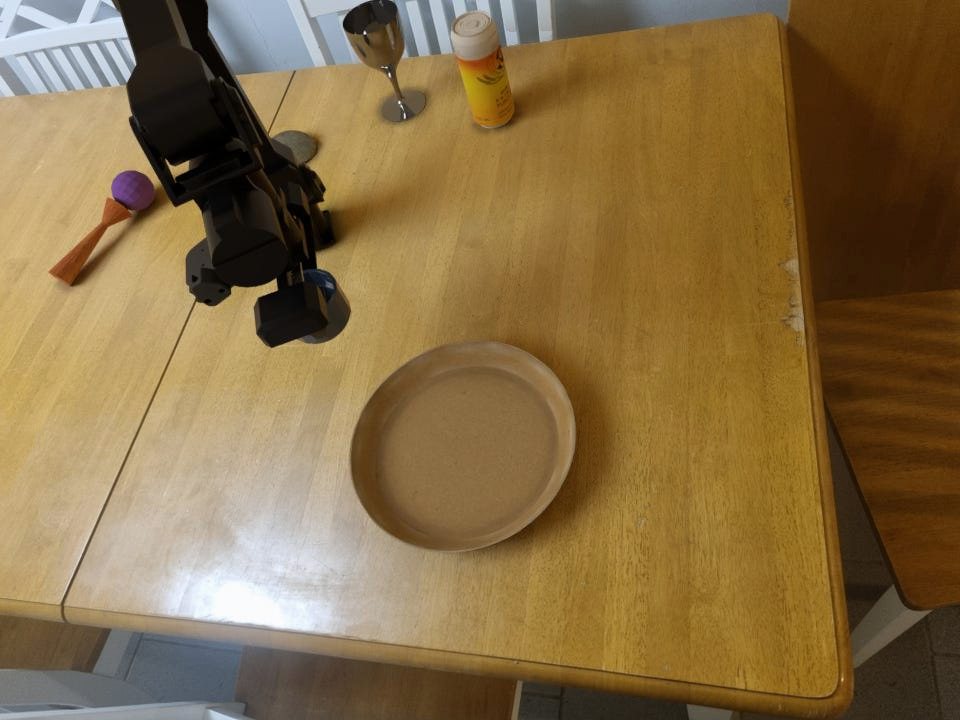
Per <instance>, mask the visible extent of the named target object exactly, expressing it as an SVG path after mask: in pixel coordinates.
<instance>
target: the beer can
mask: <svg viewBox="0 0 960 720" xmlns="http://www.w3.org/2000/svg"><path fill="white" fill-rule="evenodd" d="M450 27H451V30H450V41H451V44H452V47H453V50H454V55H455V58H456V61H457V65H458V68H459V71H460V75H461V79H462V82H463V86H464V90H465V93H466V96H467V100H468V103H469V104H468V105H469V107H470V111H471V114H472V118H473V121H474V122H475V123H476V124H478V125H479V126H481V127H483V128H485V129H497V128H501V127H503V126H505V125H506V124H507V123H508V122H509V121H510V120H511V119H512V116H513V115H514V114H515V109H516V108H515V102H514V98H513V94H512V90H511V84H510V80H509V76H508V71H507V68H506V64H505V62H506V61H505V58H504V53H503V50H502V45H501V40H500V37H499V32H498V26H497V23H496V21H495V20H494V19H493V18H492V15H491V14H490V13H489V12H488V11H485V10H479V9H475V10H469V11H467V12H464V13H462V14H460V15H458V16H457V17H456V18H455V19H454V20H453V22H452V23H451V26H450Z"/></svg>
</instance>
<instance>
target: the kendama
mask: <svg viewBox="0 0 960 720" xmlns="http://www.w3.org/2000/svg"><path fill="white" fill-rule="evenodd" d="M110 191H111V195H112V198H111V197H109V196H107V197H106V198H105V204H104V209H103V211H102V217H101V222H100V223H99V224H97V226H96V227H94V228H93V229H92V230H91V231H90V232H89V233H88V234H87V235H85V237H84V238H82V239H81V240H80V242H78V243H77V244H76V245H75V246H74V247H73V248H72V249H71V250H70V251H68V253H66V254H65V255H64V256H63V257H62V258H61V259H60V260H59V261H57V263H56V264H54V266H52V267H51V268H50V269H49V270H48V271H47V273H48V274H50V275H51V276H52V277H54V278H55V279H56V280H58V281H59V282H61V283H63V284H64V285H67V286H68V287H71V285H72V284H73V282H74V280H75V279H76V278H77V276H78V274H79V273H80V271H81V270H82V268H83V267H84V265H85V264H86V262H87V260H88V259H89V257H90V256H91V254H93V251H94V250H95V248H96V246H97V245H98V243H99V242H100V240H101V239H102V238H103V236H104V234H105V233H106V232H107V229H108V228H109V227H113V226H114V225H117V224H118V223H120V222H123V221H125V220H127V219H130V218H132V217H133V214H132V212H135V211H143V210H144V209H147V208H149V207H150V206H151V204H152V203H154V198H155V195H156V191H155V185H154V183H153V182H152V180H151V179H150V177H149V176H147V174H146V173H143V172H140V171H138V170H123V171H122V172H119V173H117V174H116V175H115V177H114V178H113V179H112V181H111V185H110Z"/></svg>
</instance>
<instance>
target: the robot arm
mask: <svg viewBox="0 0 960 720" xmlns="http://www.w3.org/2000/svg"><path fill="white" fill-rule="evenodd" d="M110 1H111V3H112V4H113V6H114V8H115V9H116V12H118V13H120V17H121V20H122V23H123V27H124V29H125V32H126V35H127V38H128V41H129V44H130V45H129V46H130V47H131V50H132V54H133V57H134V62H135V66H134V68H133V70H132V72H131V74H130V76H129V78H128V79H127V82H126V85H125V89H126V94H127V99H128V104H129V110H130V114H131V115H129V116H128V123H129V126H130V129H131V131H132V134H133V135H134V137H135V139H136V141H137V143H138V145H139V146H140V148H141V150H142V152H143V153H144V156H145V157H146V159H147V162H148V163H149V164H150V166H151V168H152V170H153V172H154V173H155V175H156V177H157V179H158V181H159V182H160V184H161V186H162V188H163V190H164V191H165V194H166V195H167V198H168V199H169V201H170V202H171V204H172V206H173V208H178V207H180V206H182V205H185V204H187V203H189V202H191V201H194V203H195V204H196V206H197V207H198V209H199V210H200V212H201V218H202V222H203V223H202V224H203V228H204V232H205V237H204V238H202V239H201V240H200V241H199V242H197V244H195V245H194V246H193V247H191V249H190V250H189V251H188V252H187V254H186V256H185V259H184V260H185V261H184V263H185V265H184V266H185V267H184V268H185V284H186V286H187V287H188V293H190V294H191V295H193V296H194V297H195V302H196V303H198V304H203V305H205V306H207V307H217V306H218V305H220V304H221V303H222V302H224V301H225V300H226V299H227V298H230V296H232V289H233V287H237V288H246V289H249V288H257V287H261V286H264V285H268V284H270V283H271V282H273V281H274V280H276V281H275V282H276V287H277V290H275V291H272V292H269V293H267V294H263V295H260V296H258V297H257V298H256V301H255V302H254V305H253V313H254V323H255V324H254V325H255V335H256V336H257V337H258V338H259V339H260V341H261V342H262V343H263V344H264V346H266V347H268V348H270V349H274V348H276V347H280V346H282V345H284V344H288V343H290V342H293V341H296V340H297V339H299V338H302V337H305V336H307V335H310V336H312V337H314V338H316V339H322V338H324V337H327V325H328V324H329V319H328V314H327V311H328V310H327V304H326V298H325V292H324V289H323V290H320V289H319V287H318V286H317V284H314V283H309V282H305V281H304V278H303V271H304V270H307V269H318V261H317V250H320V249H322V248H325V247H328V246H331V245H333V244H335V243H336V241H337V239H336V235H335V230H334V225H333V221H332V216H331V213H330V211H329V209H324V210H321V208H320V206H319V203H324V202H325V200H326V199H324V195H325V193H326V191H327V187H326V186H325V185H324V183H323V181H322V179H321V177H320V176H319V175H318V172H317V171H315V170H314V169H312V168H311V166H310V165H308V164H307V163H306V162H302V163H299V161H298V159H297V158H296V156H295V154H294V152H293V151H292V149H291V148H290V147H288V146H286V145H284V144H282V143H280V142H279V141H277V140H275V139H273V138H272V137H271V136H270V134H269V132H268V130H267V129H266V127H265V124H264V123H263V122H262V120H261V118H260V116H259V115H258V113H257V110H256V109H255V107H254V106H253V104H252V102H251V101H250V98H249V97H248V95H247V93H246V91H245V90H244V88H243V86H242V85H241V83H240V80H238V77H237V76H236V74H235V72H234V71H233V69H232V67H231V65H230V64H229V62H228V60H227V58H226V57H225V55H224V53H223V51H222V49H221V48H220V46H219V44H218V42H217V41H216V38H215V37H214V35H213V33H212V31H211V30H210V28H209V4H208V0H110ZM187 162H188V168H187V169H188V170H187V171H185V172H182V173H180V174H178V175H176V176H175V177H174V176H173V173H172V170H171V169H170V166H171V167H175V168H176V167H178V166H180V165H182V164H185V163H187Z"/></svg>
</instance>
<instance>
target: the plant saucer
mask: <svg viewBox="0 0 960 720" xmlns="http://www.w3.org/2000/svg"><path fill="white" fill-rule="evenodd" d="M576 423H577V422H576V417H575V412H574V407H573V405H572V401H571V399H570V397H569V395H568V392H567V390H566V388H565V387H564V385H563V383H562V381H561V380H560V379H559V377H558V376H557V375H556V373H554V371H553V370H552V369H551V368H549V366H548V365H547V364H545V363H544V362H543V361H542V360H541V359H539V358H538V357H537V356H535V355H533V354H532V353H529V352H528V351H526V350H524V349H522V348H519V347H517V346H514V345H511V344H507V343H504V342H500V341H495V340H484V339H483V340H482V339H481V340H480V339H472V340H471V339H470V340H461V341H454V342H450V343H449V342H448V343H445V344H442V345H439V346H435V347H433V348H430V349H427V350H425V351H423V352H421V353H418V354H417V355H415V356H413V357H411V358H410V359H408V360H407V361H405V362H404V363H401V364H400V365H399V366H398V367H397V368H395V369H394V370H393V371H391V373H389V374H388V375H387V376H386V377H385V378H384V379H383V380H382V381H381V382H380V383H379V384H378V386H377V387H376V388H375V389H374V390H373V392H372V393H371V394H370V396H369V397H368V399H367V400H366V402H365V403H364V405H363V407H362V408H361V410H360V412H359V415H358V417H357V420H356V422H355V425H354V427H353V430H352V434H351V438H350V444H349V452H348V469H349V475H350V476H349V477H350V481H351V485H352V489H353V491H354V494H355V496H356V499H357V501H358V503H359V505H360V507H361V508H362V510H363V511H364V513H365V515H367V517H368V518H369V520H370V521H371V522H372V523H373V524H374V525H375V526H376V527H377V528H378V529H379V530H381V531H382V532H383V533H384V534H385V535H387V536H389V537H390V538H392V539H393V540H395V541H397V542H398V543H401V544H403V545H405V546H408V547H411V548H413V549H417V550H420V551H426V552H431V553H440V554H454V553H455V554H456V553H465V552H466V553H467V552H470V551H471V552H472V551H477V550H480V549H484V548H487V547H490V546H493V545H496V544H498V543H500V542H503V541H504V540H507V539H509V538H510V537H512V536H514V535H516V534H518V533H519V532H520V531H522V530H523V529H524V528H526V527H527V526H528V525H530V524H531V523H533V522H534V521H535V520H537V518H538V517H539V516H540V515H541V514H542V513H543V512H544V511H545V510H546V509H547V507H548V506H550V504H551V503H552V502H553V500H554V499H555V498H556V496H557V494H558V493H559V491H560V490H561V488H562V486H563V485H564V484H565V481H566V479H567V477H568V474H569V472H570V469H571V466H572V463H573V460H574V455H575V450H576V443H577V424H576Z"/></svg>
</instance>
